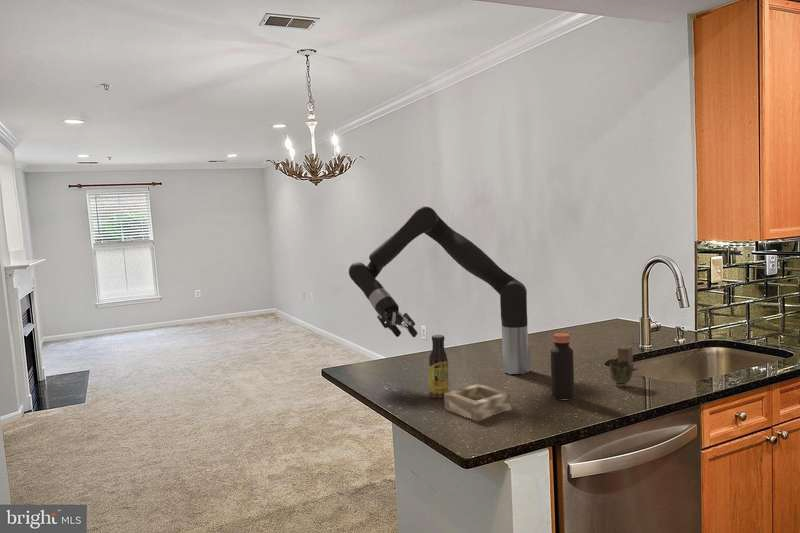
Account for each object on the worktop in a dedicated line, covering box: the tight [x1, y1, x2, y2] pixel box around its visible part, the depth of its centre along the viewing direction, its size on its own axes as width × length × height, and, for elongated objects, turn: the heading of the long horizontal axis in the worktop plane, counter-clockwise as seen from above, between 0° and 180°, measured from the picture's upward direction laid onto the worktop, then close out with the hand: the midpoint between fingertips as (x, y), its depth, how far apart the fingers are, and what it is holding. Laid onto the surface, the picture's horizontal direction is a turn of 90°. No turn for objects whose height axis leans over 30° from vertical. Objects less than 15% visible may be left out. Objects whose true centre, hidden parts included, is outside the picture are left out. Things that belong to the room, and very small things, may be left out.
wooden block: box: [617, 345, 634, 364], centre depth 211 cm, size 4×4×8 cm
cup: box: [608, 359, 634, 388], centre depth 191 cm, size 8×7×8 cm
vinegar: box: [550, 332, 575, 400], centre depth 183 cm, size 7×7×20 cm
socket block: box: [443, 383, 512, 422], centre depth 176 cm, size 14×14×5 cm
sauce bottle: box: [428, 334, 449, 399], centre depth 190 cm, size 6×6×20 cm
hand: (407, 335), depth 201 cm, fingers open, 8 cm apart
